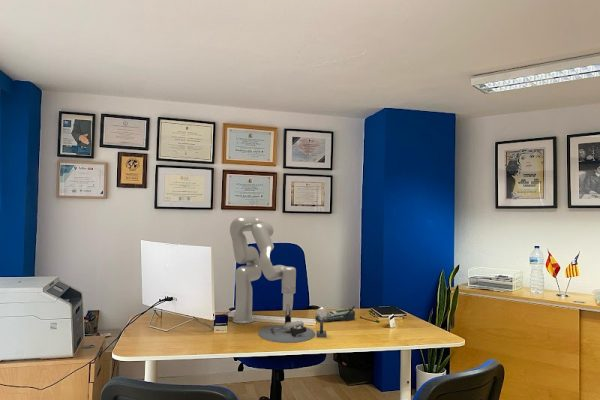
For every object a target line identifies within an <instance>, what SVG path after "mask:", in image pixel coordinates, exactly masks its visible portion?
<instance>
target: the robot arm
mask: <svg viewBox="0 0 600 400" xmlns="http://www.w3.org/2000/svg"><path fill="white" fill-rule="evenodd" d="M244 232H251V234H252V237H253V239H254V241H255V244H256V245H257V248H258V249H257V248H256V247H254V246H251V245H250V246H249V245H248V239H247V237H246V235H245V234H244ZM274 232H275V231H274V227H273V225H272V224H270V223H269V222H267V221H265V220H263V219H260V218H258V217H255V216H239V217H236V218H233V220H232V221H231V223H230V225H229V233H230V234H229V235H230V237H231V242H232V250H233V256H234V261H235V262H236V263H237V264H240V265H242V264H243V265H242V266H239V267H238V268H236V269H235V272H234V281H235V312H233V313H232V312H228V313H227V317H228V318H232V322H233V323H235V324H241V325H242V324H252V323H253V322H255V317H253V285H252V282H254V281H257V280H259V279H260V278H261V276H262V274H263V275H264V278H266V280H268V281H272V282H273V281H276V280H281V294H283V295H282V313H285V317H284V325H285V324H286V322H291V323H292V316H291V314H292V312H293V305H294V294H296V292H297V291H296V290H297V289H296V287H297V286H296V281H297V280H296V279H297V269H296V267H294V266H286V265H282V264H276V265H273V263H272V262H271V258H270V257H271V256H270V255H271V252H272V251H273V250H274V248H275V246H274V243H273V241H272V238H271V237H272V236H273V234H274ZM244 264H246V265H244ZM252 317H253V318H252Z"/></svg>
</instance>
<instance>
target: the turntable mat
mask: <svg viewBox="0 0 600 400" xmlns="http://www.w3.org/2000/svg"><path fill="white" fill-rule="evenodd" d="M284 325H285V324H275V325H270V326H269V325H268V326H266V327H263V328H261V329H260V330H258V333H257V334H258V336H259V337H260V338H261V339H264V340H266V341H269V342H273V343H274V342H275V343H282V344H294V343H295V344H296V343H303V342H306V341H307V342H308V341H310V340H312V339H314V338H315V336H316V331H315V330H313V329H311V328H310V327H307V326H305V327H306V330H307V331H306V332H304V333H301V334H297V335H296V337H293V336H292V335H291V332H287V331H285V330H284ZM271 328H273V330H274V332H275V334H273V333H272V331H271ZM276 328H279V329H281V330H283V331H280V330H279V329H276ZM275 329H276V331H275Z"/></svg>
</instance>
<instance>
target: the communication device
mask: <svg viewBox="0 0 600 400" xmlns="http://www.w3.org/2000/svg"><path fill="white" fill-rule="evenodd" d="M355 308H356V307H355V305H353V306H352V308H340V309H334V310H329V312H328V316H327V318H326V319H324V320H323V323H326V322H334V321H340V322H341V321H342V322H345V321H352V320H355V317H356V311H355V310H354V309H355ZM314 318H315V321H316V322H318V323H320V319H319V318H318V317H317V316H316V315H315V317H314Z"/></svg>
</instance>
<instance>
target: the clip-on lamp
mask: <svg viewBox="0 0 600 400" xmlns="http://www.w3.org/2000/svg"><path fill="white" fill-rule="evenodd" d="M283 325H284V330H285V331H287V332H291V335H292V336H293V337H296V335H297V334H301V333H304V332H306V331H307V330H306V327H307V326H304V321H302V320H298V321H294V322H292V321H291V322H286V324H285V323H284V324H283ZM276 329H279V328H276ZM276 329H275V331H276ZM279 330H280V331H283V330H281V329H279ZM271 331H272V333H273V334H275V332H274V330H273V328H271Z"/></svg>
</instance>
